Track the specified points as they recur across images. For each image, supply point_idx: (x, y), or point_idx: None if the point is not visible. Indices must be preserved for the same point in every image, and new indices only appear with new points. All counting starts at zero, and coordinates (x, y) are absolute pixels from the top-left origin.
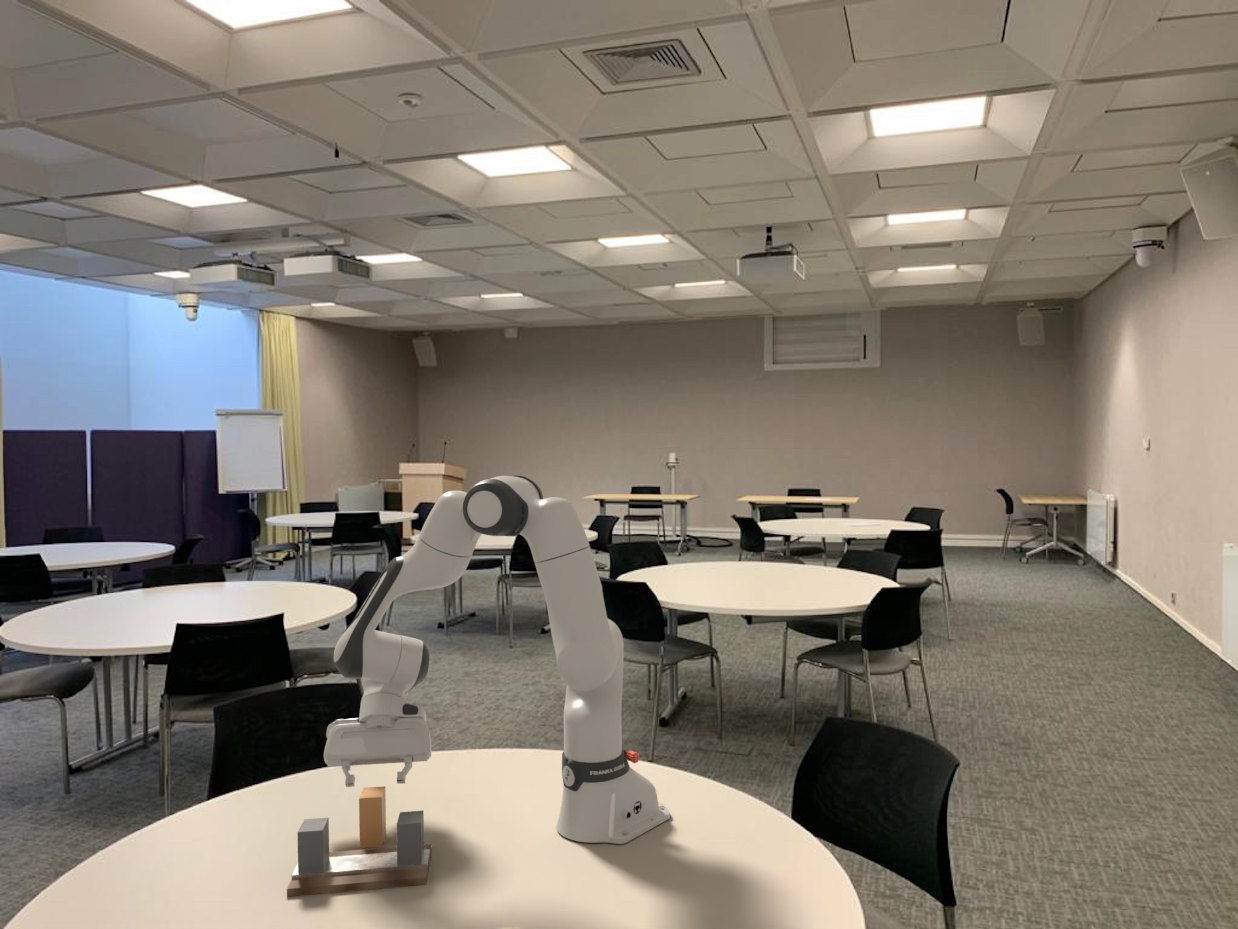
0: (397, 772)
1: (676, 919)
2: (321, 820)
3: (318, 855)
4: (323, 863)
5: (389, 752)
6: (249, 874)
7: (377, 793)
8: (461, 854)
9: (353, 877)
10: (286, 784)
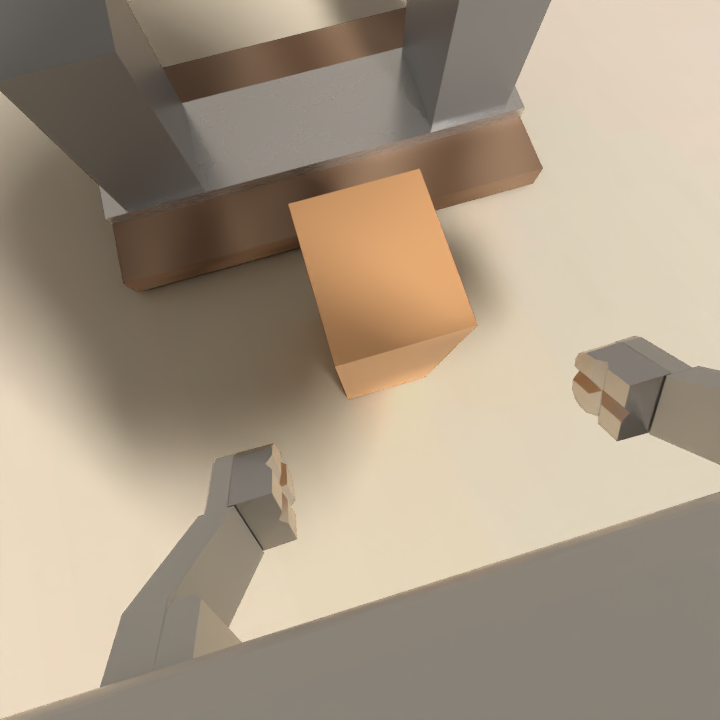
0: (269, 486)
1: None
2: None
3: None
4: (405, 27)
5: (379, 644)
6: (647, 107)
7: (337, 247)
8: (34, 290)
9: (305, 62)
10: None
